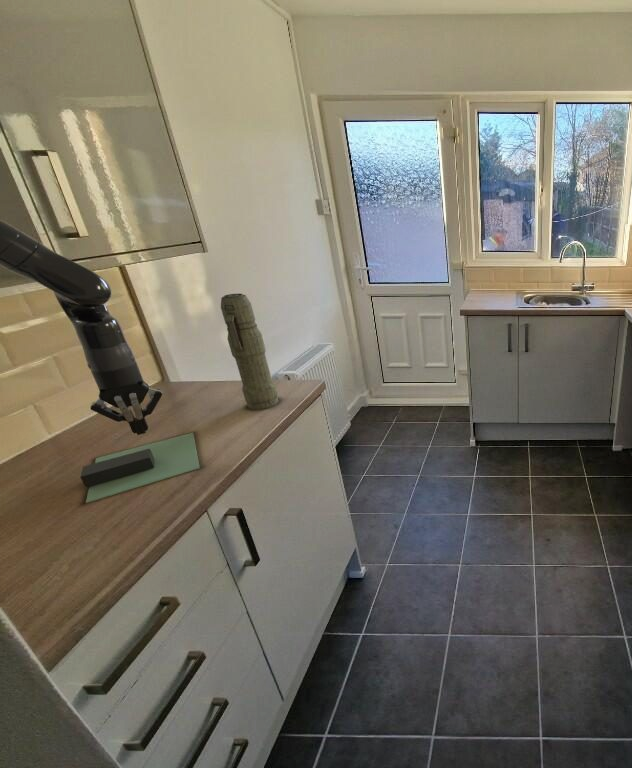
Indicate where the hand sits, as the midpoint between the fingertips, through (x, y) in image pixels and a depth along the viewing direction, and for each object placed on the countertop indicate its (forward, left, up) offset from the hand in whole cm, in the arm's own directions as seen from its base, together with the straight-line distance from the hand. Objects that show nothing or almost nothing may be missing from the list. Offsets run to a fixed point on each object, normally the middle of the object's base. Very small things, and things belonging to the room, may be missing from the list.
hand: (141, 432), depth 97 cm
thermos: (+27, +21, -10) cm, 36 cm away
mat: (-2, +2, -9) cm, 10 cm away
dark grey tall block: (0, 0, -7) cm, 7 cm away
